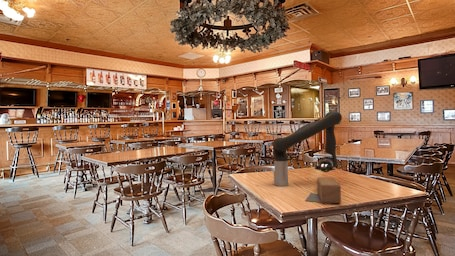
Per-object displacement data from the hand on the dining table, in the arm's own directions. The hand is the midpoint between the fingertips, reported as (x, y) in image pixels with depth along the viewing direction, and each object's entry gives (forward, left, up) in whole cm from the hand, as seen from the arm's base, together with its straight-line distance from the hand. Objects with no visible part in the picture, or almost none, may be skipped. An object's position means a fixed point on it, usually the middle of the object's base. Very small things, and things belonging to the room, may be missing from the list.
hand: (322, 169), depth 162 cm
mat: (0, -10, -15) cm, 18 cm away
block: (+1, +1, -10) cm, 10 cm away
